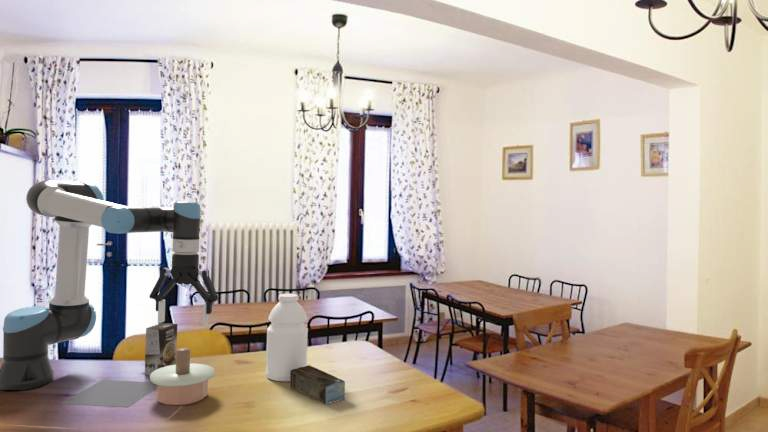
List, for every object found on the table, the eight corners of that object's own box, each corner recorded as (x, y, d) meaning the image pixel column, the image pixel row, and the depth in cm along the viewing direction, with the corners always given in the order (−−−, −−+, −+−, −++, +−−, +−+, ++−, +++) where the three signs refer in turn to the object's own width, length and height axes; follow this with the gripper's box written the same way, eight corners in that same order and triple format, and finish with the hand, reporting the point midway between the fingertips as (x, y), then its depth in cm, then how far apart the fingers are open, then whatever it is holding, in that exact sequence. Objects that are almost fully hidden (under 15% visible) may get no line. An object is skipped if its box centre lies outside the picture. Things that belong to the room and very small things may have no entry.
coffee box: (160, 377, 171) (162, 329, 171) (143, 375, 172) (145, 327, 172) (177, 369, 180) (178, 323, 180) (160, 367, 181) (161, 322, 181)
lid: (137, 384, 146) (138, 357, 145) (167, 365, 164) (167, 340, 163) (199, 387, 145) (200, 359, 145) (222, 367, 163) (223, 342, 163)
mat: (60, 404, 146) (60, 403, 146) (102, 381, 166) (102, 379, 166) (128, 408, 145) (128, 407, 145) (162, 384, 165) (162, 382, 165)
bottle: (259, 380, 171) (261, 297, 171) (274, 367, 185) (276, 290, 184) (299, 383, 169) (301, 299, 169) (311, 370, 183) (314, 292, 182)
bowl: (147, 405, 148) (148, 382, 147) (170, 387, 162) (170, 367, 162) (195, 407, 147) (195, 385, 147) (213, 390, 161) (214, 369, 161)
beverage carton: (324, 406, 152) (325, 384, 151) (288, 388, 165) (289, 368, 165) (345, 399, 157) (346, 378, 157) (308, 383, 171) (309, 363, 171)
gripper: (138, 252, 150) (136, 323, 151) (221, 256, 149) (219, 328, 150) (151, 250, 158) (149, 318, 158) (230, 253, 157) (228, 322, 157)
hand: (183, 323), depth 154 cm, fingers open, 13 cm apart
